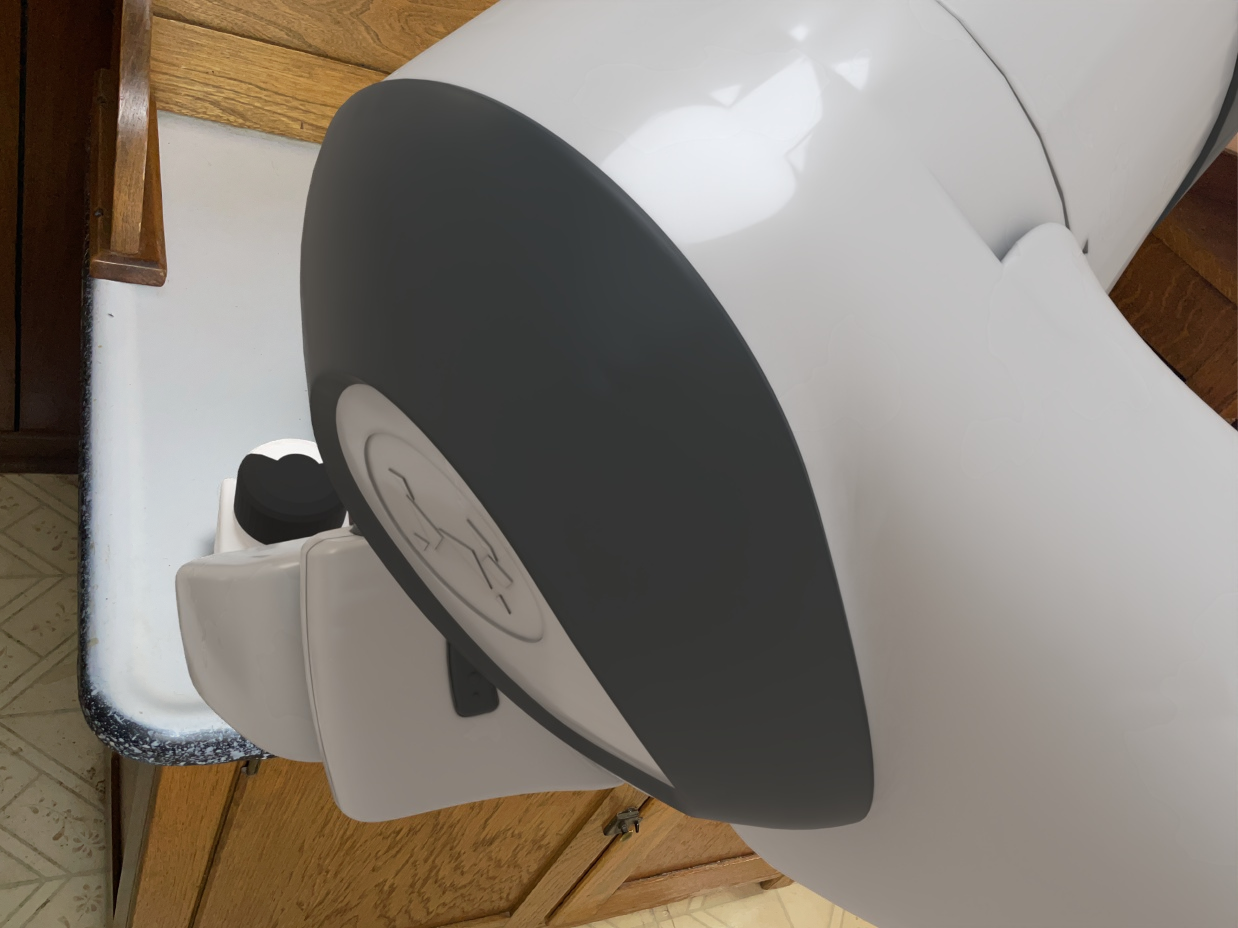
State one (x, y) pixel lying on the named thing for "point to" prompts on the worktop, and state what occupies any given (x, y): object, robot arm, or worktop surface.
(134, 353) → the worktop surface
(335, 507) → the medicine bottle
